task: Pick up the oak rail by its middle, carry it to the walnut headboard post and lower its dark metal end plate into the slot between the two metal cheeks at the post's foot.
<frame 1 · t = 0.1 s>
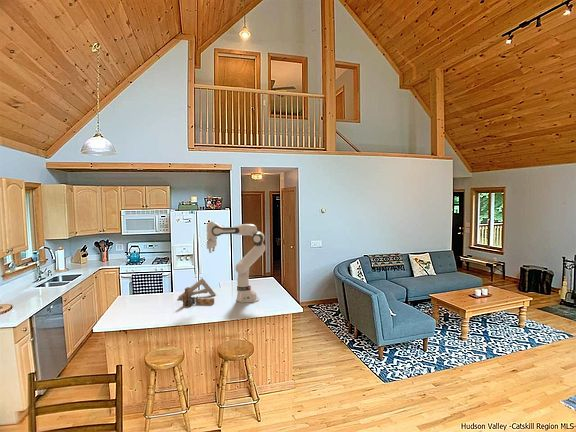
hand: (211, 252, 327), 48 cm above the counter, fingers open, 8 cm apart
rail: (205, 303, 317), on the counter
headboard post: (189, 304, 315), on the counter
wall bracket: (197, 297, 339), on the counter
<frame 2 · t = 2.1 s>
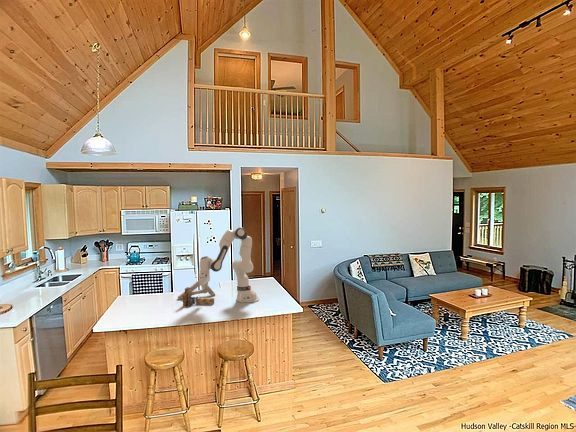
hand: (205, 287, 316), 15 cm above the counter, fingers open, 8 cm apart
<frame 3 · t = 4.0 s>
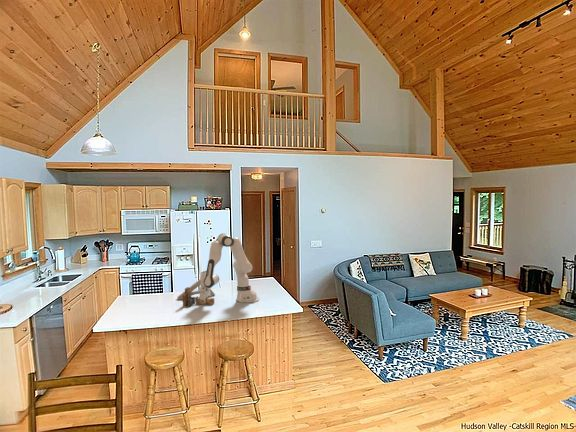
hand: (205, 301, 317), 2 cm above the counter, fingers closed on rail, 3 cm apart
rail: (205, 303, 317), on the counter, touching gripper
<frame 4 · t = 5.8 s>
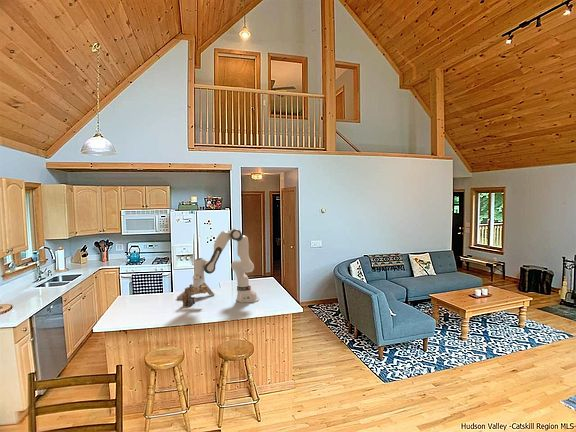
hand: (199, 289, 314), 14 cm above the counter, fingers closed on rail, 3 cm apart
rail: (199, 291, 314), point 13 cm above the counter, touching gripper
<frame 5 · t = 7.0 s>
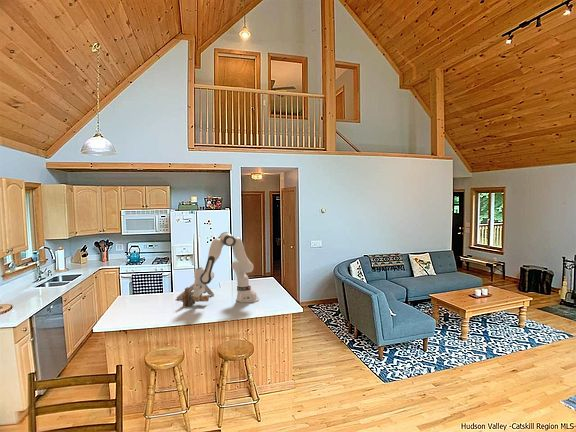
hand: (199, 299, 314), 5 cm above the counter, fingers closed on rail, 3 cm apart
rail: (199, 300, 314), point 4 cm above the counter, touching gripper
when the fingers open (2 cm above the counter, at t = 8.0 s): rail stays where it is, on the counter.
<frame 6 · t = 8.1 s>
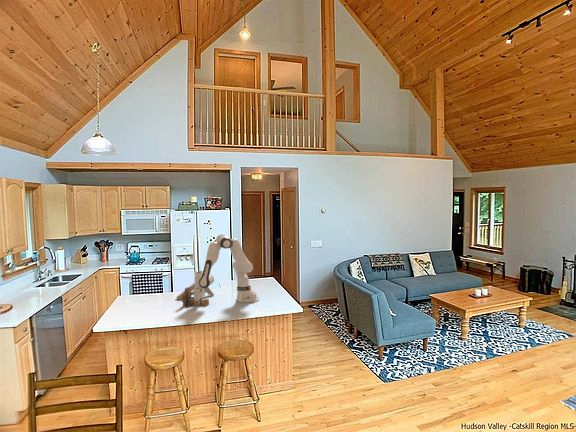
hand: (200, 302, 314), 2 cm above the counter, fingers open, 5 cm apart
rail: (200, 304, 314), on the counter
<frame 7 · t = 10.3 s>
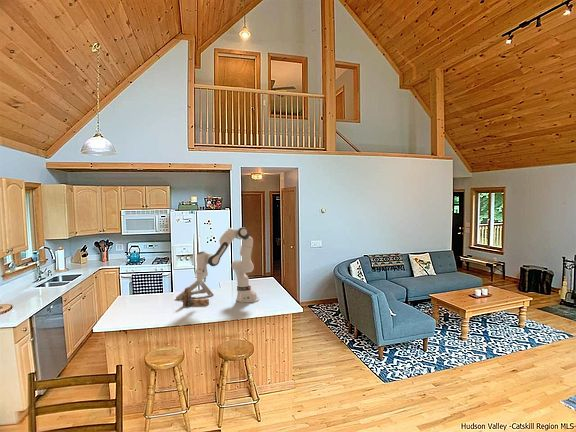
hand: (203, 283, 313), 21 cm above the counter, fingers open, 8 cm apart
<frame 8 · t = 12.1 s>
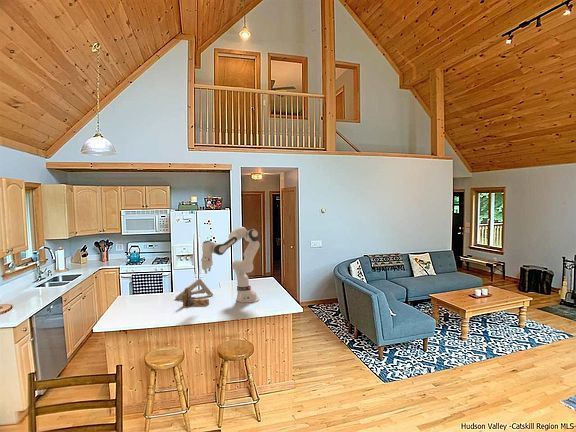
hand: (207, 272, 312), 31 cm above the counter, fingers open, 8 cm apart
at the end: rail 0.0 cm from the target spot on the counter beside the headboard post, on the counter; rail tilted 0°; the gripper is holding nothing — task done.
